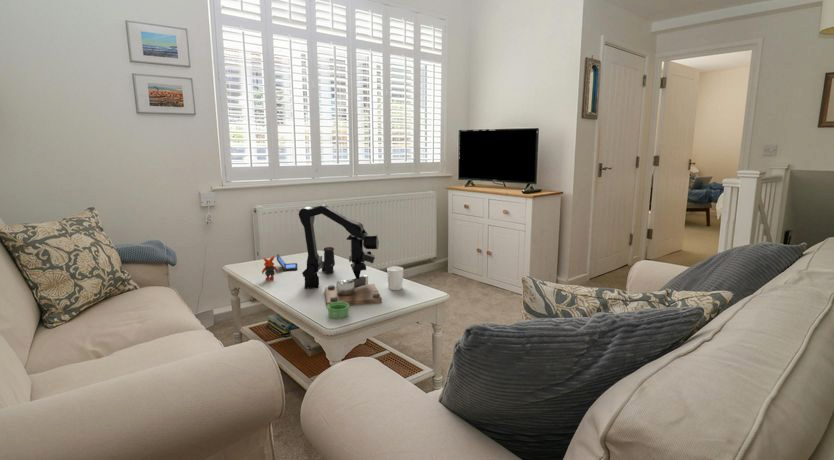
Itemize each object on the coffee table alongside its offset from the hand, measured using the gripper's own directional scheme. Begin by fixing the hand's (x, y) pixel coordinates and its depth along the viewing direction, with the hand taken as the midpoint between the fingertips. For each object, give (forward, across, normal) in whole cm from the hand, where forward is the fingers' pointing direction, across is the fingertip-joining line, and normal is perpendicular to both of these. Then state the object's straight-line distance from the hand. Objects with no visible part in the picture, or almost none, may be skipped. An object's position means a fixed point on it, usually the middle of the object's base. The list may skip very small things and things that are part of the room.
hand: (357, 279), depth 220 cm
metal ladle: (+2, -9, +3) cm, 10 cm away
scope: (+5, +30, +12) cm, 33 cm away
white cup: (+5, -4, -18) cm, 19 cm away
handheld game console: (+5, +44, +34) cm, 56 cm away
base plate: (+4, -11, +4) cm, 13 cm away
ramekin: (+5, -32, +12) cm, 34 cm away
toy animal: (+5, +25, +43) cm, 50 cm away
